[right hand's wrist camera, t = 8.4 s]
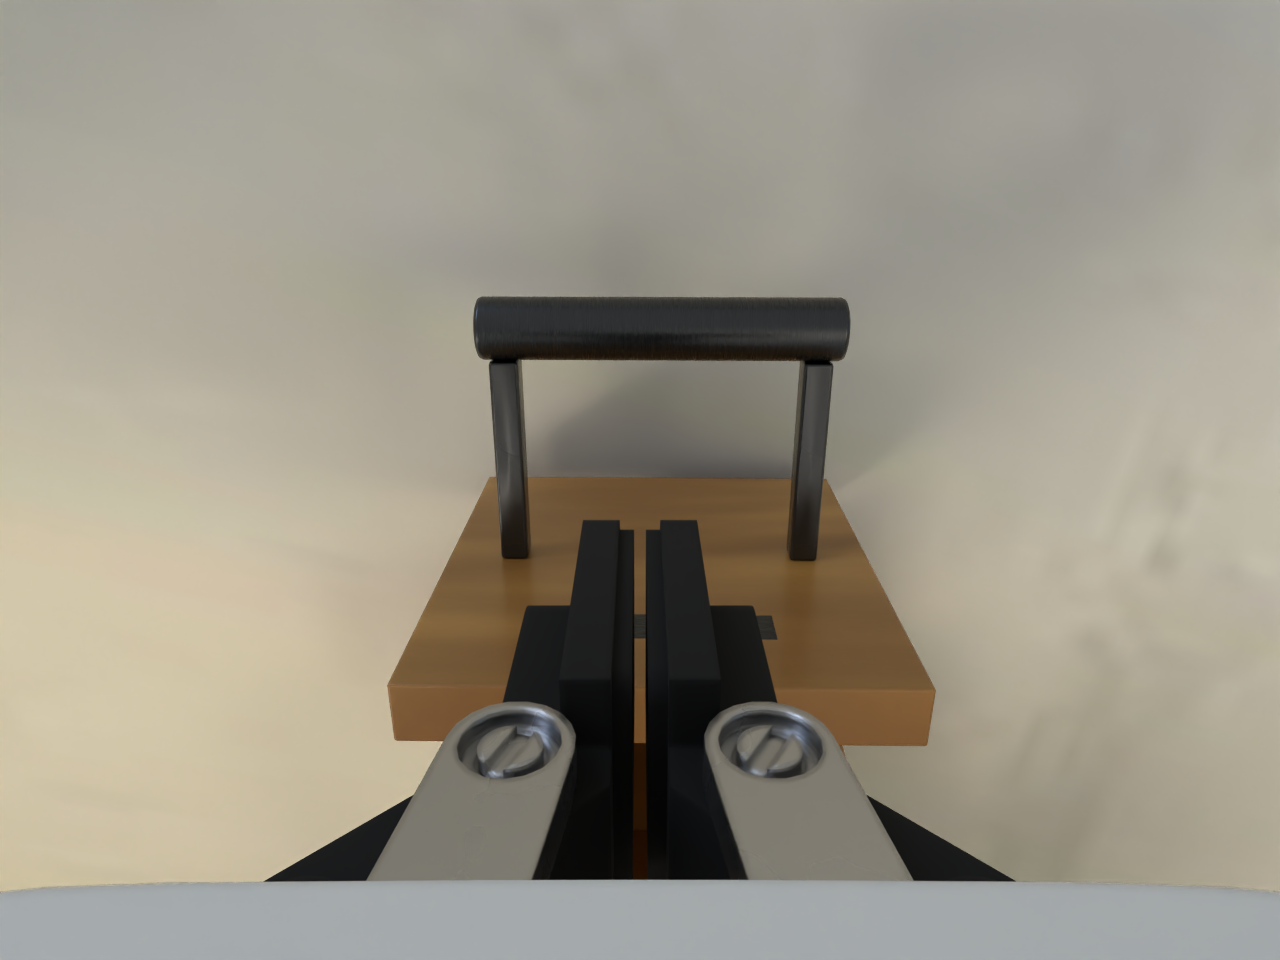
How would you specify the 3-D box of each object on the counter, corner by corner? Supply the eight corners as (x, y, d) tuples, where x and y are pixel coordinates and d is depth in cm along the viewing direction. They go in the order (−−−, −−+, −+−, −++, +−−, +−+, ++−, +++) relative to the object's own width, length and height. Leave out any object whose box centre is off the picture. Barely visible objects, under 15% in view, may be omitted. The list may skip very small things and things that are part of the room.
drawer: (474, 265, 21) (342, 354, 12) (845, 266, 21) (989, 357, 12) (513, 818, 28) (446, 1141, 19) (795, 822, 28) (864, 1148, 19)
